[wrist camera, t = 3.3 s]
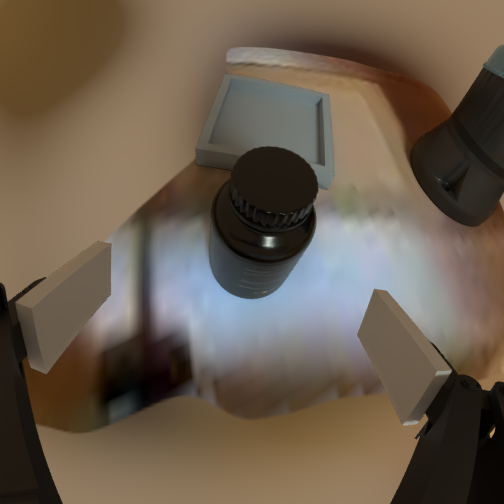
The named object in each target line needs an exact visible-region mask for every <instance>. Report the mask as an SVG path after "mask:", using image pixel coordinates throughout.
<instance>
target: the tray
mask: <svg viewBox="0 0 504 504" xmlns="http://www.w3.org/2000/svg"><path fill="white" fill-rule="evenodd" d="M261 146H263V147H266V146H272V147H275V146H277V147H279V148H285V149H287V150H290V151H293V152H294V153H296V154H298V155H300V157H302V158H304V159H305V160H306V162H307V163H309V164H310V165H311V168H312V169H313V170H314V171H315V175H316V176H317V181H318V183H319V185H318V188H322V189H326V190H327V189H328V187H329V185H330V184H331V182H332V180H333V178H334V176H335V171H334V151H333V135H332V122H331V109H330V99H329V95H328V94H324V93H321V92H317V91H313V90H309V89H305V88H301V87H296V86H292V85H287V84H283V83H278V82H273V81H268V80H263V79H257V78H251V77H245V76H239V75H232V74H225V75H224V78H223V80H222V83H221V85H220V87H219V90H218V92H217V95H216V97H215V100H214V102H213V105H212V107H211V110H210V112H209V115H208V117H207V120H206V122H205V125H204V128H203V131H202V133H201V136H200V138H199V141H198V144H197V147H196V165H203V166H209V167H215V168H221V169H227V170H233V166H234V165H235V164H236V161H237V160H238V159H239V158H240V157H241V155H243V154H245V153H246V152H247V151H250V150H252V149H253V148H259V147H261Z"/></svg>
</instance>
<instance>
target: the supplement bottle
mask: <svg viewBox="0 0 504 504" xmlns="http://www.w3.org/2000/svg"><path fill="white" fill-rule="evenodd" d="M318 185H319V183H318V181H317V176H316V175H315V171H314V170H313V169H312V168H311V165H310V164H309V163H307V162H306V160H305V159H304V158H302V157H300V155H298V154H296V153H294V152H293V151H290V150H287V149H285V148H279V147H277V146H275V147H272V146H266V147H263V146H261V147H259V148H253V149H252V150H250V151H247V152H246V153H245V154H243V155H241V157H240V158H239V159H238V160H237V161H236V164H235V165H234V166H233V170H232V173H231V178H230V179H229V180H227V181H226V182H225V183H224V184H223V185H222V186H221V187H220V189H219V190H218V192H217V193H216V195H215V197H214V200H213V203H212V208H211V225H210V264H211V269H212V273H213V275H214V277H215V279H216V280H217V282H218V283H219V284H220V286H221V287H222V288H224V289H225V290H226V291H227V292H229V293H231V294H232V295H235V296H237V297H240V298H245V299H257V298H262V297H265V296H268V295H270V294H272V293H273V292H275V291H276V290H277V289H278V288H279V287H280V286H281V285H282V284H283V283H284V281H285V280H286V278H287V277H288V276H289V274H290V273H291V271H292V270H293V268H294V267H295V265H296V264H297V262H298V261H299V259H300V258H301V256H302V255H303V253H304V252H305V250H306V249H307V247H308V246H309V244H310V242H311V240H312V238H313V236H314V233H315V229H316V212H315V208H314V205H313V204H314V202H315V200H316V195H317V193H318Z"/></svg>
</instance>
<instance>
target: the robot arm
mask: <svg viewBox="0 0 504 504" xmlns="http://www.w3.org/2000/svg"><path fill="white" fill-rule="evenodd" d="M411 163H412V167H413V170H414V173H415V175H416V177H417V179H418V181H419V183H420V185H421V186H422V188H423V189H424V191H425V192H426V194H427V195H428V196H429V197H430V199H431V200H432V201H433V202H434V203H435V204H436V205H437V206H438V207H439V208H440V209H441V210H442V211H443V212H444V213H445V214H447V215H448V216H449V217H451V218H452V219H453V220H455V221H457V222H459V223H461V224H463V225H466V226H471V227H475V226H479V225H481V224H482V223H483V222H484V221H486V220H487V219H488V218H489V217H490V216H491V215H492V214H493V212H494V210H495V208H496V205H497V203H498V201H499V200H500V198H501V196H502V194H503V193H504V45H501V46H499V47H497V49H496V50H495V51H494V53H493V54H492V55H491V57H490V58H489V59H488V61H487V62H486V63H484V64H483V69H482V70H481V72H480V74H479V75H478V77H477V78H476V80H475V81H474V83H473V84H472V86H471V87H470V89H469V91H468V92H467V93H466V95H465V97H464V98H463V99H462V101H461V102H460V104H459V105H458V107H457V108H456V109H455V111H454V112H453V114H452V115H451V116H450V118H448V119H447V120H445V121H444V122H443V123H441V124H440V125H438V126H437V127H435V128H434V129H433V130H431V131H430V132H427V133H425V134H424V135H422V136H421V137H420V138H419V140H418V141H417V142H416V144H415V145H414V147H413V148H412V151H411ZM110 295H111V244H110V243H105V242H99V241H97V242H96V243H95V244H93V245H92V246H90V247H89V248H87V249H86V250H84V251H83V252H82V253H80V254H79V255H77V256H76V257H75V258H73V259H72V260H70V261H69V262H67V263H66V264H65V265H63V266H62V267H61V268H59V269H58V270H56V271H55V272H54V273H52V274H51V275H50V276H48V277H47V278H46V277H44V278H42V279H39V280H37V281H34V282H33V283H32V284H30V285H29V286H28V288H27V287H26V288H25V289H24V290H22V292H20V293H18V294H17V295H16V296H15V297H13V298H12V299H11V300H10V301H8V302H7V297H6V291H5V287H4V285H3V284H2V283H0V504H63V503H62V501H61V498H60V496H59V494H58V491H57V489H56V486H55V484H54V481H53V479H52V476H51V473H50V470H49V468H48V465H47V462H46V459H45V456H44V453H43V449H42V446H41V443H40V440H39V436H38V432H37V429H36V425H35V421H34V417H33V413H32V408H31V404H30V399H29V394H28V389H27V384H26V378H25V372H24V367H23V363H22V360H23V359H24V358H25V357H26V356H27V357H28V360H29V364H30V367H31V368H33V369H35V370H38V371H40V372H43V373H45V374H47V373H48V371H49V370H50V369H51V367H52V366H53V365H54V363H55V362H56V361H57V359H58V358H59V357H60V356H61V354H62V353H63V352H64V350H65V349H66V348H67V347H68V345H69V344H70V343H71V342H72V340H73V339H74V338H75V337H76V335H77V334H78V333H79V332H80V330H81V329H82V328H83V327H84V326H85V324H86V323H87V322H88V321H89V319H90V318H91V317H92V316H93V315H94V313H95V312H96V311H97V310H98V309H99V308H100V306H101V305H102V304H103V303H104V302H105V301H106V299H107V298H108V297H109V296H110ZM357 335H358V337H359V339H360V341H361V343H362V345H363V347H364V349H365V351H366V353H367V354H368V356H369V358H370V360H371V362H372V364H373V366H374V368H375V370H376V372H377V374H378V376H379V378H380V380H381V382H382V384H383V386H384V388H385V390H386V392H387V394H388V396H389V398H390V400H391V402H392V405H393V407H394V409H395V411H396V413H397V415H398V417H399V419H400V421H401V424H402V425H412V424H418V422H419V421H420V420H421V418H422V417H423V415H424V414H425V413H426V415H427V417H428V419H429V420H428V421H427V422H426V424H425V425H424V426H423V428H422V429H421V431H420V432H419V433H418V434H417V436H416V437H415V439H417V438H418V437H419V436H420V438H419V441H418V443H417V446H416V449H415V451H414V453H413V456H412V458H411V461H410V463H409V465H408V468H407V470H406V472H405V475H404V477H403V479H402V481H401V483H400V485H399V487H398V489H397V491H396V493H395V495H394V497H393V499H392V501H391V503H390V504H504V382H499V381H498V382H496V383H495V385H494V386H493V387H492V389H491V390H490V391H487V390H482V388H481V386H480V384H479V383H478V382H477V381H476V380H475V379H474V378H472V377H470V376H467V375H458V374H457V372H456V371H455V370H454V369H453V367H452V366H451V365H450V363H449V362H448V361H447V360H446V359H445V357H444V356H443V354H441V352H440V351H439V349H438V348H437V347H436V346H435V345H434V344H433V343H431V342H430V341H429V340H428V339H427V338H426V337H425V336H424V334H423V333H422V332H421V331H420V329H419V328H418V327H417V326H416V325H415V323H414V322H413V321H412V320H411V319H410V317H409V316H408V315H407V314H406V313H405V311H404V310H403V309H402V308H401V307H400V306H399V304H398V303H397V302H396V301H395V300H394V299H393V297H392V296H391V295H390V294H389V293H388V292H387V291H384V290H378V289H374V291H373V294H372V297H371V300H370V302H369V305H368V308H367V310H366V313H365V316H364V318H363V321H362V324H361V326H360V329H359V331H358V334H357ZM494 428H495V432H494V434H493V436H492V438H490V433H491V432H492V430H493V429H494Z"/></svg>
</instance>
